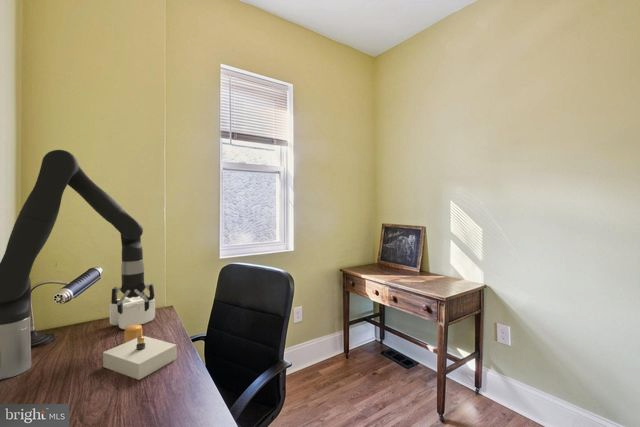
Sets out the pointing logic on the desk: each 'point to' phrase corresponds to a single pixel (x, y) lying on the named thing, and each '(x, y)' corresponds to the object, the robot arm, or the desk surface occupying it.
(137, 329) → the orange lidded jar
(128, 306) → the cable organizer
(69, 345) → the desk surface
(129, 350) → the box
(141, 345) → the pigtail
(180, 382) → the desk surface
